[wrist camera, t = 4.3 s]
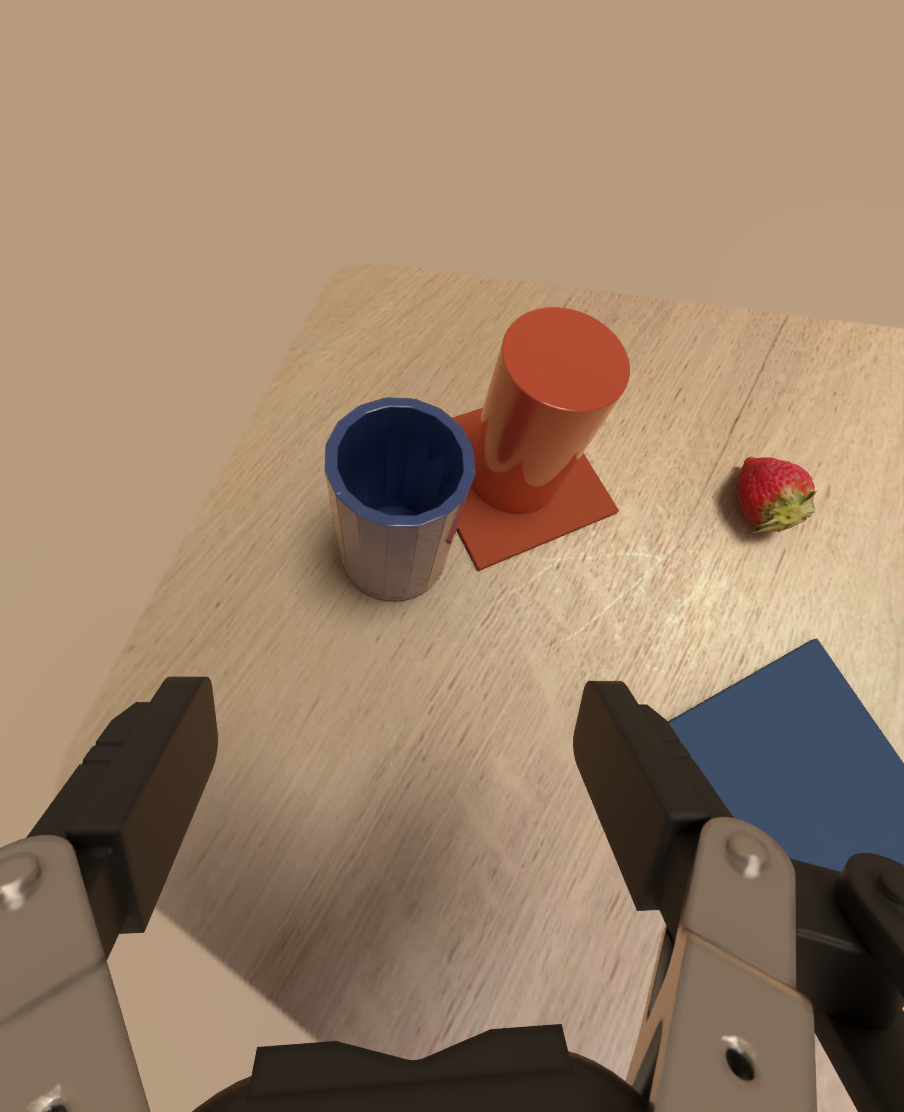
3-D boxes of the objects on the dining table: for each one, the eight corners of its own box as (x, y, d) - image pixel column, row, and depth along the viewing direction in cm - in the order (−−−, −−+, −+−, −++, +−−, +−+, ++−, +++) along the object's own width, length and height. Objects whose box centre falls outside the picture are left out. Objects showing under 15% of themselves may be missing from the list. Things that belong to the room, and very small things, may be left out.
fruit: (773, 471, 36) (831, 428, 31) (785, 551, 34) (850, 517, 29) (714, 462, 36) (765, 417, 31) (723, 541, 33) (779, 506, 29)
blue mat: (786, 1038, 24) (793, 1042, 24) (627, 745, 28) (630, 745, 27) (976, 877, 28) (984, 879, 27) (812, 639, 32) (817, 638, 31)
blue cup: (365, 618, 28) (359, 549, 19) (325, 525, 30) (302, 421, 21) (462, 577, 30) (500, 495, 21) (420, 491, 32) (437, 381, 23)
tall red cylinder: (493, 527, 31) (542, 428, 22) (450, 447, 33) (479, 323, 24) (577, 494, 33) (655, 389, 23) (532, 419, 34) (588, 294, 25)
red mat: (478, 571, 30) (479, 568, 30) (408, 435, 33) (408, 431, 33) (616, 513, 33) (619, 510, 33) (541, 392, 36) (543, 388, 35)
